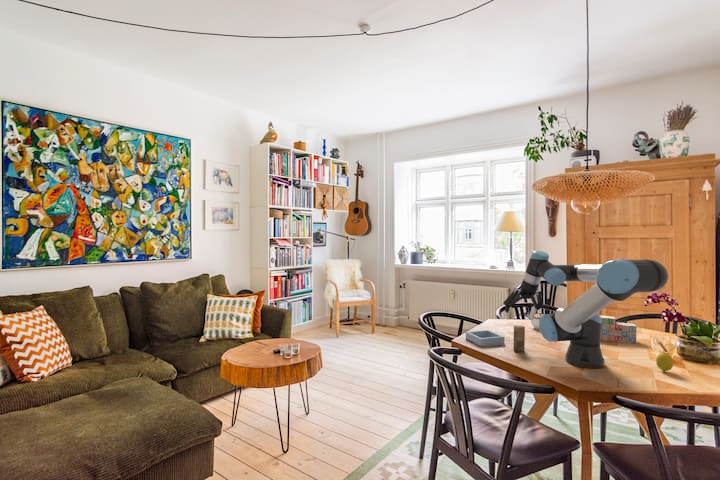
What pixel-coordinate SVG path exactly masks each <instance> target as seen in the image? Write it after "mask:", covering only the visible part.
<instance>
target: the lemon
mask: <svg viewBox="0 0 720 480" xmlns="http://www.w3.org/2000/svg"><path fill="white" fill-rule="evenodd" d="M655 363H656V367H657V368H659V369H660V370H661V371H662V372H664V371H666V372H667V371H670V370H672V368H673V367H674V361H673V358H672V356H671V355H669V354H668V353H666V352H663V353H660V354H658V355H657V357H656V360H655Z"/></svg>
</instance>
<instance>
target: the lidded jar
mask: <svg viewBox="0 0 720 480" xmlns="http://www.w3.org/2000/svg"><path fill="white" fill-rule="evenodd" d="M542 315H545V314H544V313H543V314H542V312H539V313H536V314H535V315H534V318H533V320H531V319H530V322H531V326H532V327H534V329H536V330H540V328H539V320H540V318H541V316H542Z"/></svg>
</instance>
